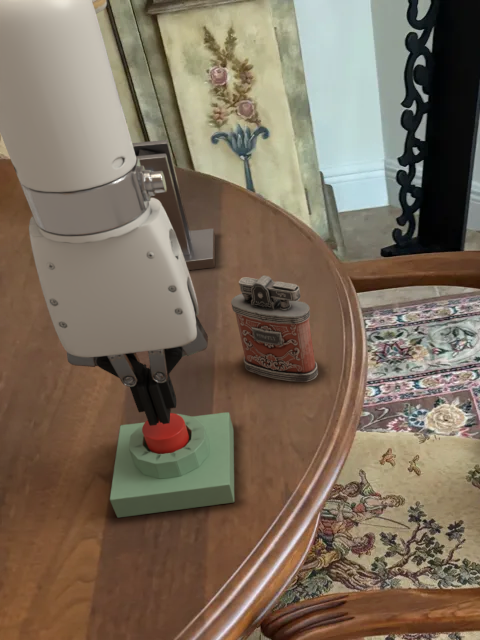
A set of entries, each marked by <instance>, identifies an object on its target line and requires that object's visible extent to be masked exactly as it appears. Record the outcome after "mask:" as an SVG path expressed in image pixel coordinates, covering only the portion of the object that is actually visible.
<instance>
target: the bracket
mask: <svg viewBox="0 0 480 640" xmlns="http://www.w3.org/2000/svg"><path fill="white" fill-rule="evenodd" d="M132 144H133V148H134V152H135V155H136V157H139V161H140V165H141V166H144V168H145V170H151V172H155V171H162V172H163V174H164V178H165V182H166V188H167V191H166V192H164V193H156V195H155V196H151V198H155V199H157V200H159V201H160V202H161V204H162V206H163V208H164V210H165V212H166V214H167V216H168V218H169V220H170V223H171V225H172V227H173V229H174V232H175V234H176V237H177V240H178V242H179V245H180V247H181V250H182V253H183V256H184V259H185V262H186V265H187V268H188V271H194V270H203V269H210V268H211V269H212V268H213V269H214V268H216V233H215V229H214V228H204V229H195V230H190V226H189V222H188V218H187V214H186V210H185V204H184V200H183V196H182V193H181V188H180V185H179V180H178V177H177V173H176V168H175V164H174V160H173V156H172V152H171V151H172V150H171V148H170V144H169V139H162V140H152V141H151V140H150V141H140V142H139V141H138V142H132ZM140 149H141V150H146V151H150V152H155V153H160V154H155V155H145V156H139V150H140Z"/></svg>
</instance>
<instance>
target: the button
mask: <svg viewBox="0 0 480 640" xmlns="http://www.w3.org/2000/svg"><path fill="white" fill-rule="evenodd" d="M177 414H178V413H174V412H170V423H168V424H163V423H160V421H159V423H157V425H153V426H150V425H149V422H148V420H146V421H144V422H145V423H144V422H143V423H144V425H143V428H142V432H143V435H144V438H145V441H146V443H147V446H148V448H149V450H151V451H152V452H153V453H157V454H166V453H173V452H175V451H177V450H179V449H181V448H183V447H185V446H186V445H187V443H188V441H189V435H188V431H187V428H186V425H185V421H184V419H183V418H182V417H181V416H179V415H177Z"/></svg>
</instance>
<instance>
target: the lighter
mask: <svg viewBox="0 0 480 640" xmlns="http://www.w3.org/2000/svg"><path fill="white" fill-rule="evenodd" d="M238 284H239V290H240V292H241V293H239V294H237V295H235V296H234V297H233V298H232V299H231V302H230V303H231V308H232V311H233V313H235V317H236V322H237V326H238V331H239V336H240V340H241V345H242V350H243V355H244V357H243V364H244V368H245V369H246V371H248V372H251V373H253V374H256V375H259V376H263V377H266V378H271V379H274V380H279V381H280V380H281V381H288V382H301V383H306V382H307V383H308V382H312V381H313V380H314V379H316V378H317V376H318V375H319V370H318V363H317V362H316V360H315V354H314V347H313V341H312V340H313V339H312V333H311V325H310V317H311V311H310V305H308V303H306V302H305V301H301V300H300V299H301V291H300V286H299V285H297V284H296V283H289V282H284V281H279V280H278V281H274V280H273V279H272V278H271V276H269V275H266V274H265V275H262V276H260V277H259V278H255V277H247V276H245V277H241V278H240V279H239V280H238Z"/></svg>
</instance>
